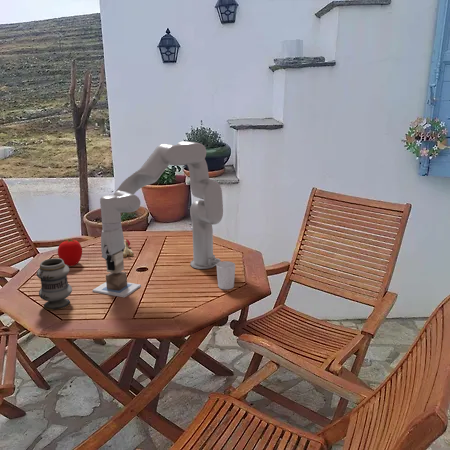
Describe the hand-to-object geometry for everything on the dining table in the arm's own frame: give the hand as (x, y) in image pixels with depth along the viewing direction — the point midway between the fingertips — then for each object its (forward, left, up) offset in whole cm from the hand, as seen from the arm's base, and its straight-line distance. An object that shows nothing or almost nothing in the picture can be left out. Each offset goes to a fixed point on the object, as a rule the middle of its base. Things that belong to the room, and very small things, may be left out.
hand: (115, 267), depth 183 cm
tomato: (+38, -16, -10) cm, 42 cm away
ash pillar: (0, 0, -1) cm, 2 cm away
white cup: (-42, -19, -10) cm, 47 cm away
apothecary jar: (+13, +21, -10) cm, 27 cm away
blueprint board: (0, 0, -10) cm, 10 cm away
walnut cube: (0, 0, -9) cm, 9 cm away
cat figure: (+28, -44, -10) cm, 53 cm away
